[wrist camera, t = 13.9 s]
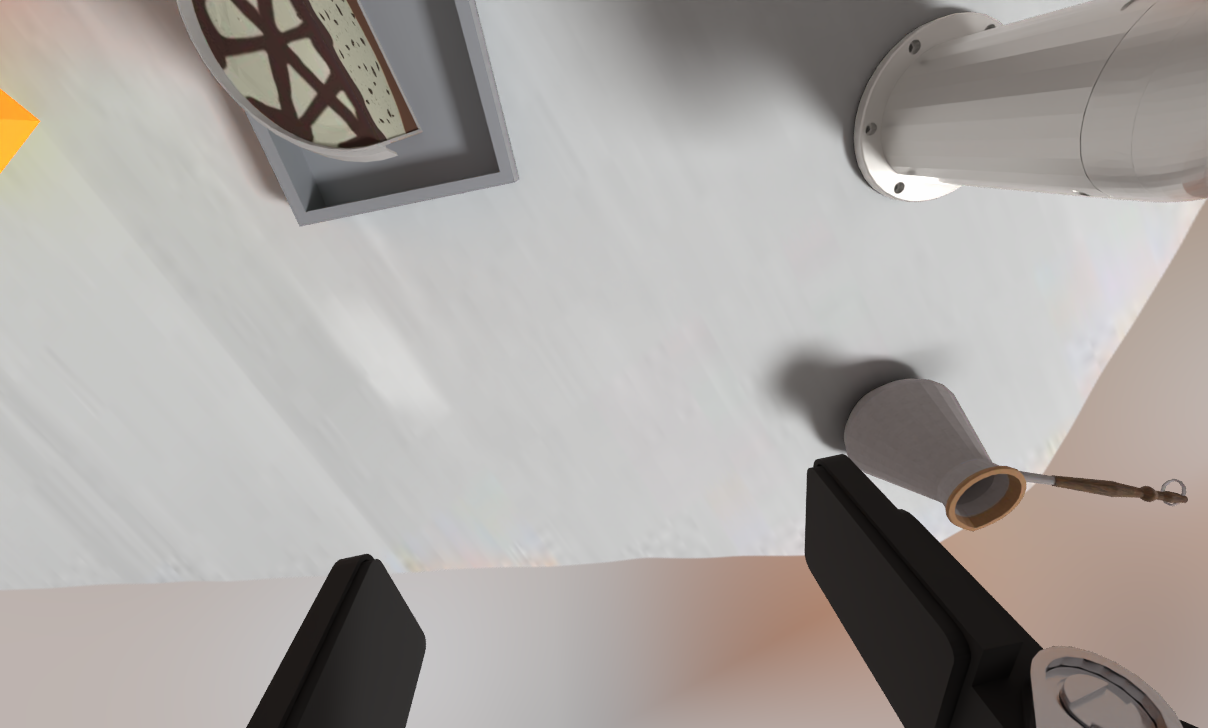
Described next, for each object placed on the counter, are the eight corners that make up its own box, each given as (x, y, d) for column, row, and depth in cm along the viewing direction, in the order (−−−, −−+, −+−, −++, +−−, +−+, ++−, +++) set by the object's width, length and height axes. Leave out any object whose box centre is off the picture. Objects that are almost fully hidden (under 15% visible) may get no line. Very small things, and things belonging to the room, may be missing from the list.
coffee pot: (821, 462, 49) (920, 579, 36) (842, 370, 44) (966, 466, 31) (999, 446, 51) (1157, 553, 38) (1039, 356, 46) (1238, 441, 33)
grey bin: (443, -125, 26) (425, -168, 23) (519, 178, 34) (514, 182, 30) (195, -75, 26) (139, -110, 23) (327, 218, 34) (299, 226, 30)
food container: (238, -22, 27) (78, -108, 18) (330, -62, 26) (214, -171, 17) (356, 185, 32) (278, 198, 23) (433, 154, 32) (385, 155, 23)
